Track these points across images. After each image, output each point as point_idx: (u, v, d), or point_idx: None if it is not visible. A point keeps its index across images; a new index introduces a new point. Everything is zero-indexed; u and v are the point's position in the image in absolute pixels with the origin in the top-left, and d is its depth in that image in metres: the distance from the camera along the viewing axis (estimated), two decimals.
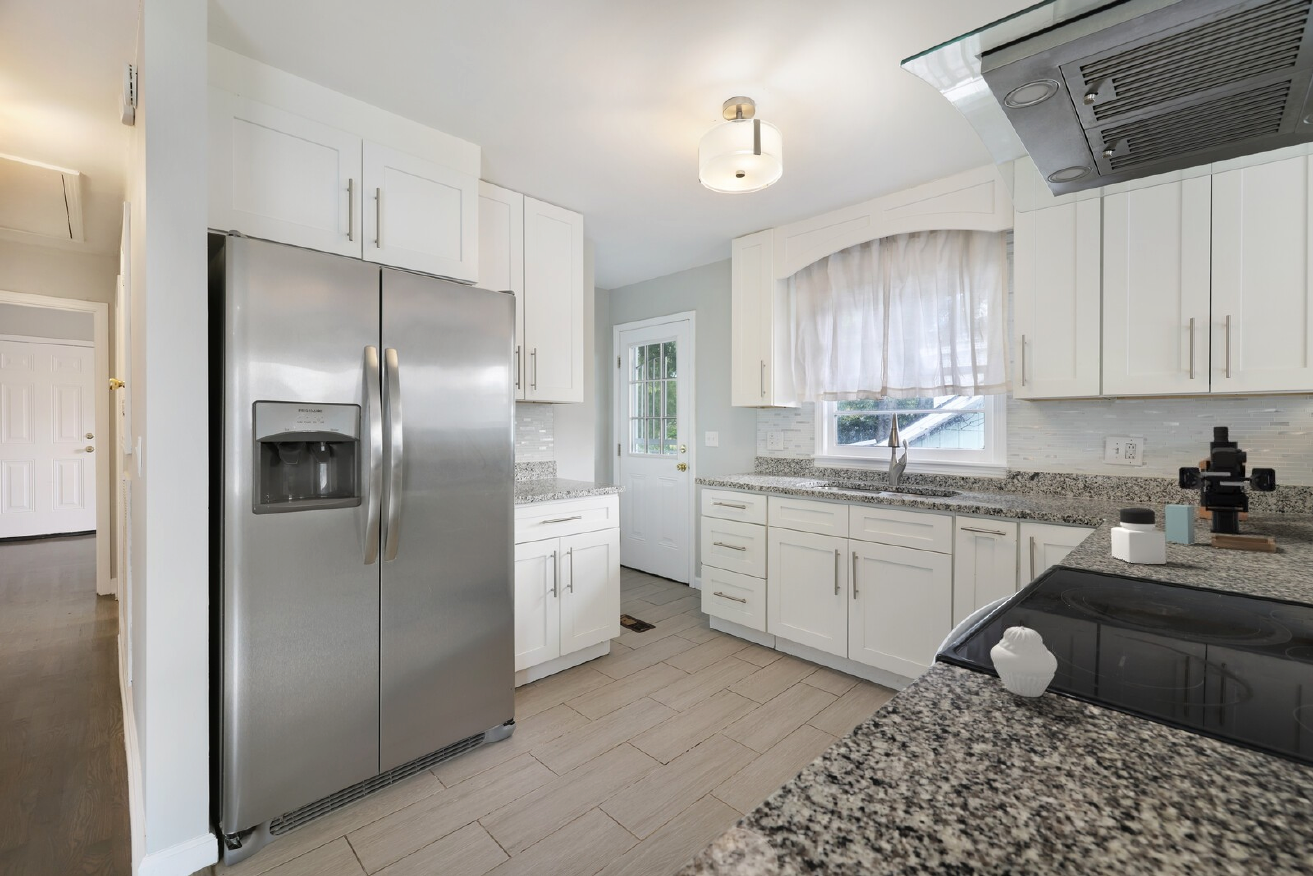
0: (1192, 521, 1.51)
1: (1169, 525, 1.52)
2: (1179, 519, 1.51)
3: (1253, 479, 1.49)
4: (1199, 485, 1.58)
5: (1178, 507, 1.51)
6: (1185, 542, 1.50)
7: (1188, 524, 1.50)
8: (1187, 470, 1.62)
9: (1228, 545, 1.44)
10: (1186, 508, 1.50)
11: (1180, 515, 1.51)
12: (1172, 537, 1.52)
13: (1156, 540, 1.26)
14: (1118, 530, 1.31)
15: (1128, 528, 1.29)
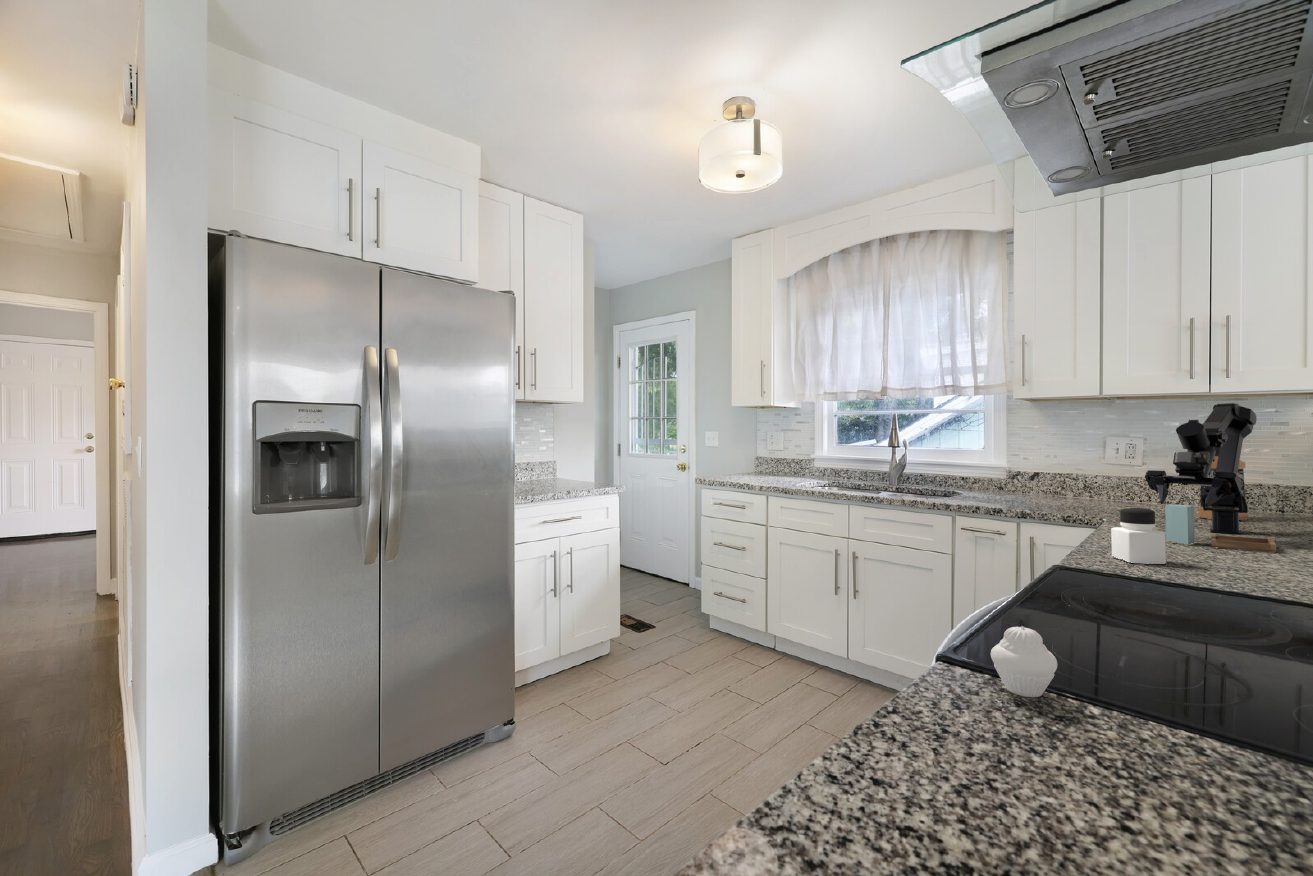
0: (1192, 521, 1.51)
1: (1169, 525, 1.52)
2: (1179, 519, 1.51)
3: (1209, 501, 1.50)
4: None
5: (1178, 507, 1.51)
6: (1185, 542, 1.50)
7: (1188, 524, 1.50)
8: (1151, 479, 1.62)
9: (1228, 545, 1.44)
10: (1186, 508, 1.50)
11: (1180, 515, 1.51)
12: (1172, 537, 1.52)
13: (1156, 541, 1.26)
14: (1118, 530, 1.31)
15: (1128, 528, 1.29)
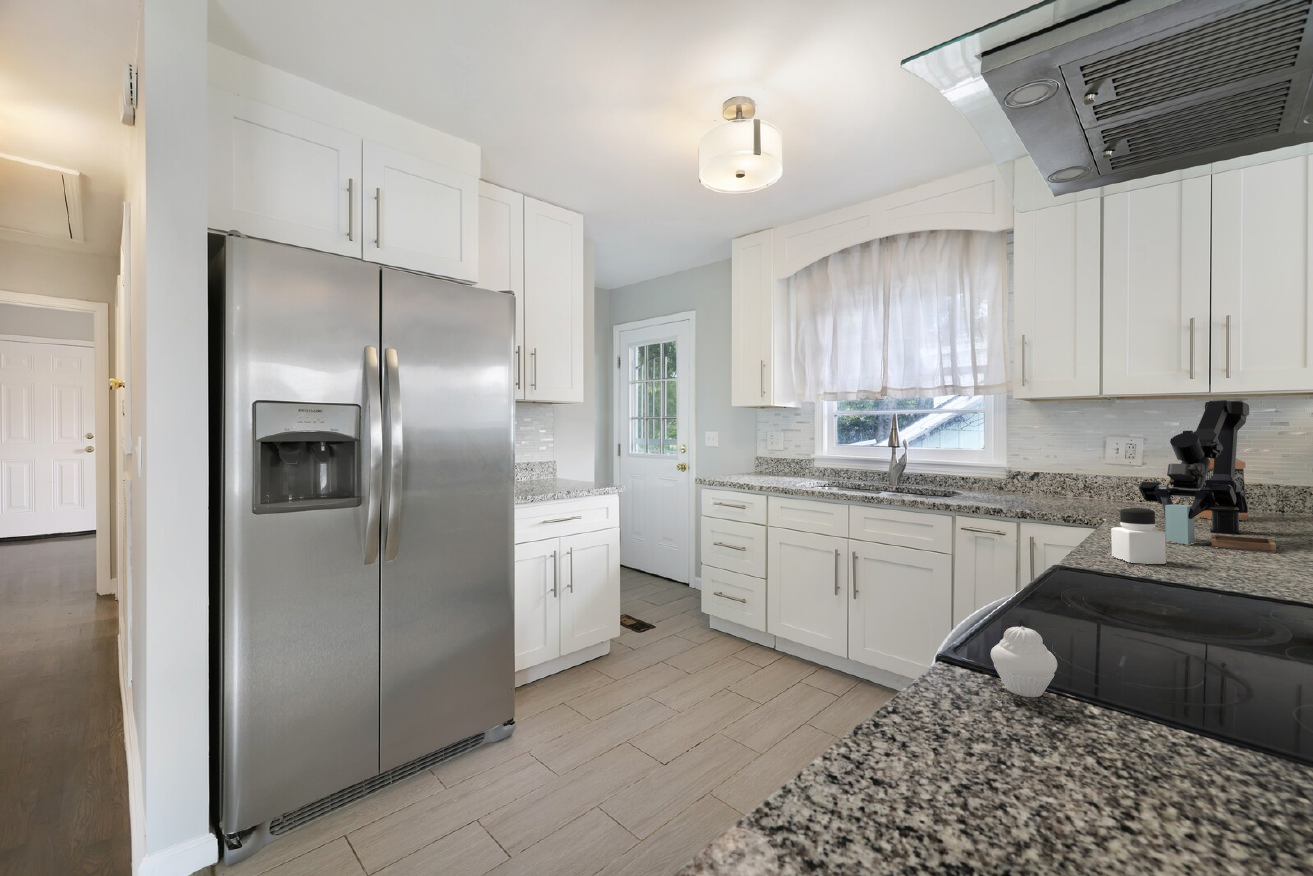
0: (1192, 521, 1.51)
1: (1169, 525, 1.52)
2: (1179, 519, 1.51)
3: (1192, 513, 1.49)
4: None
5: (1178, 507, 1.51)
6: (1185, 542, 1.50)
7: (1188, 524, 1.50)
8: (1155, 491, 1.58)
9: (1228, 545, 1.44)
10: (1186, 508, 1.50)
11: (1180, 515, 1.51)
12: (1172, 537, 1.52)
13: (1156, 541, 1.26)
14: (1118, 530, 1.31)
15: (1128, 528, 1.29)
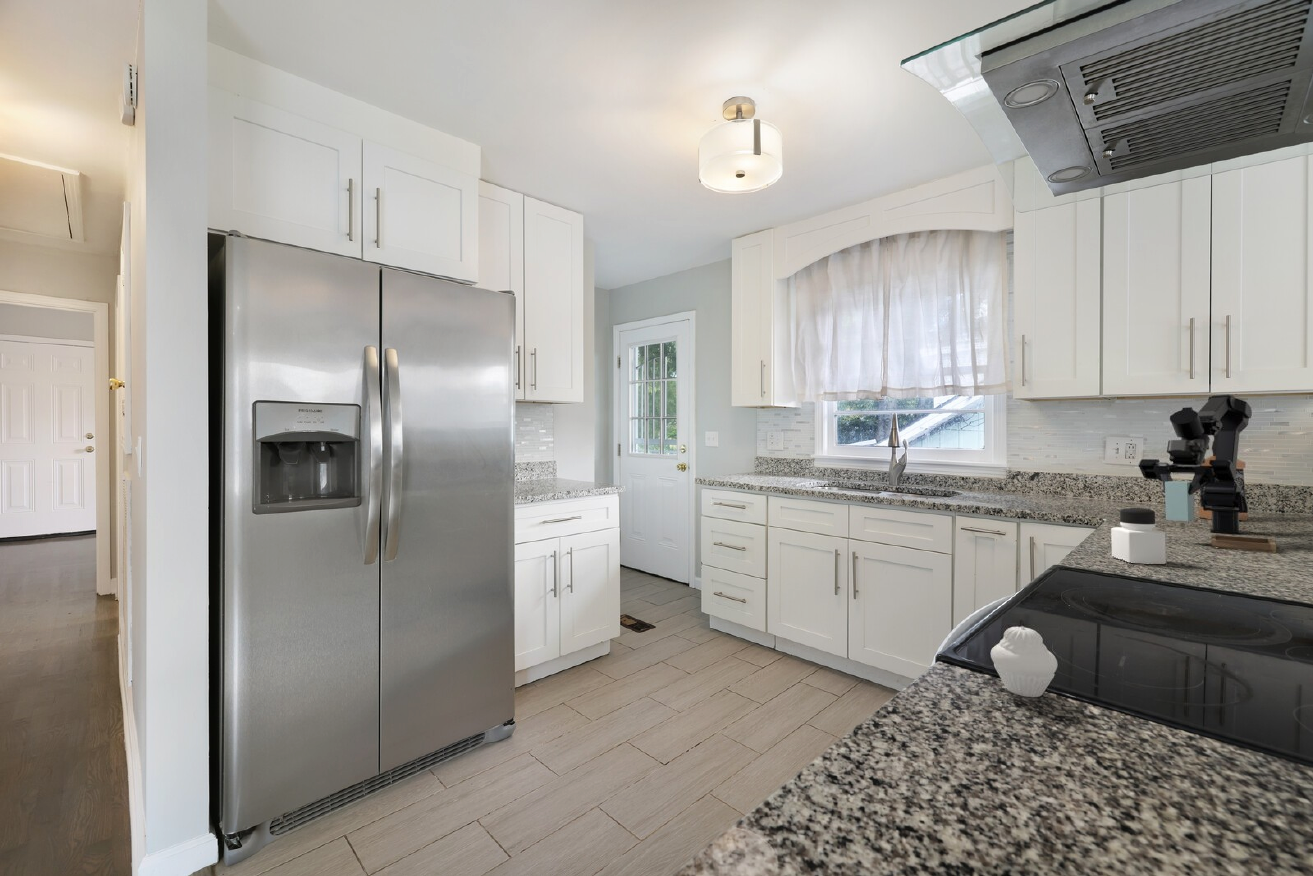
0: (1192, 497, 1.51)
1: (1169, 501, 1.53)
2: (1179, 495, 1.51)
3: (1192, 489, 1.50)
4: None
5: (1178, 483, 1.51)
6: (1185, 518, 1.50)
7: (1188, 500, 1.50)
8: (1155, 469, 1.58)
9: (1228, 545, 1.44)
10: (1186, 484, 1.50)
11: (1180, 491, 1.51)
12: (1172, 513, 1.52)
13: (1156, 541, 1.26)
14: (1118, 530, 1.31)
15: (1128, 528, 1.29)
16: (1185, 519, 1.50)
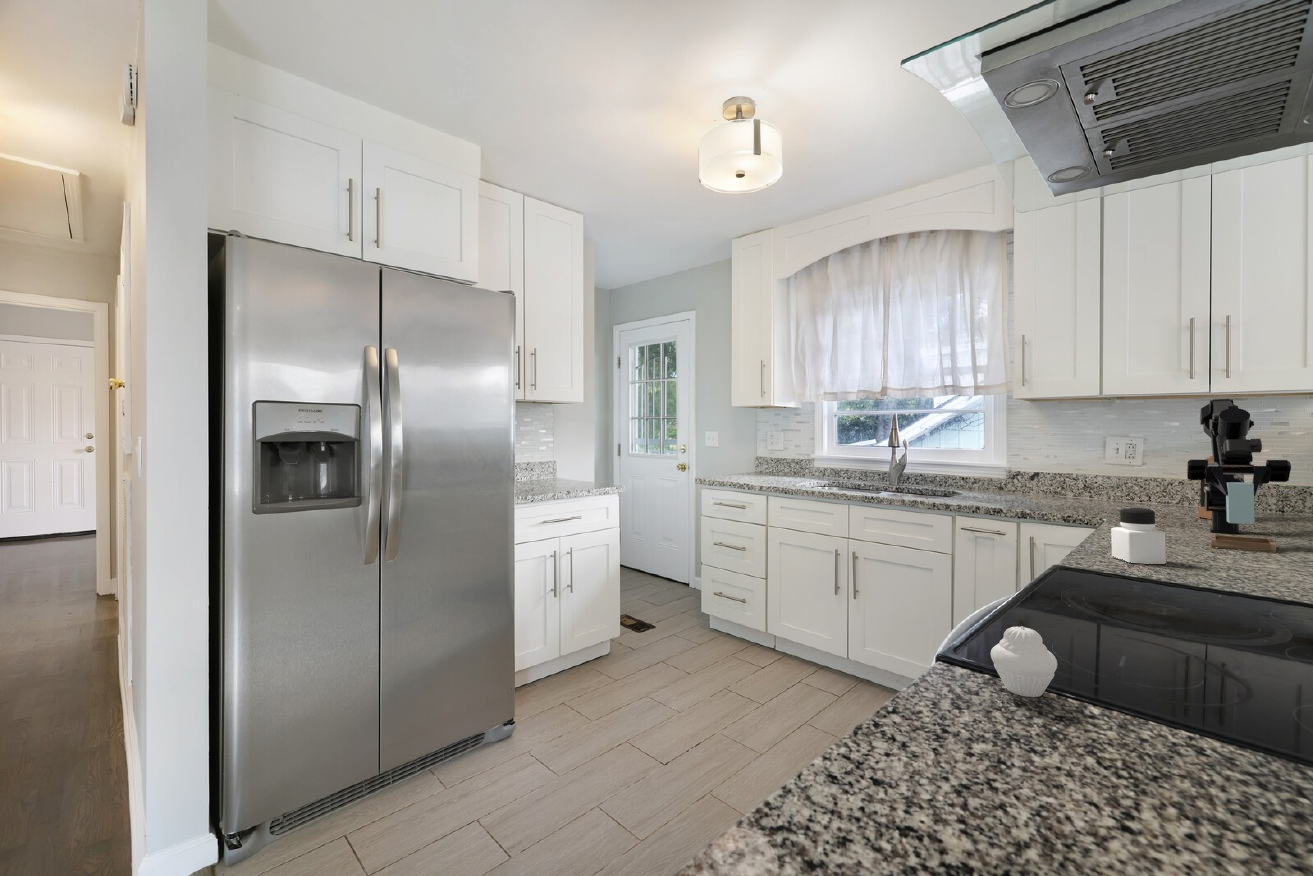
0: None
1: (1233, 504, 1.45)
2: (1244, 497, 1.44)
3: (1256, 491, 1.44)
4: None
5: (1243, 484, 1.44)
6: (1251, 521, 1.43)
7: (1253, 502, 1.43)
8: (1208, 469, 1.51)
9: (1228, 545, 1.44)
10: (1252, 485, 1.43)
11: (1245, 493, 1.44)
12: (1236, 516, 1.45)
13: (1156, 540, 1.26)
14: (1118, 530, 1.31)
15: (1128, 528, 1.29)
16: (1251, 522, 1.43)
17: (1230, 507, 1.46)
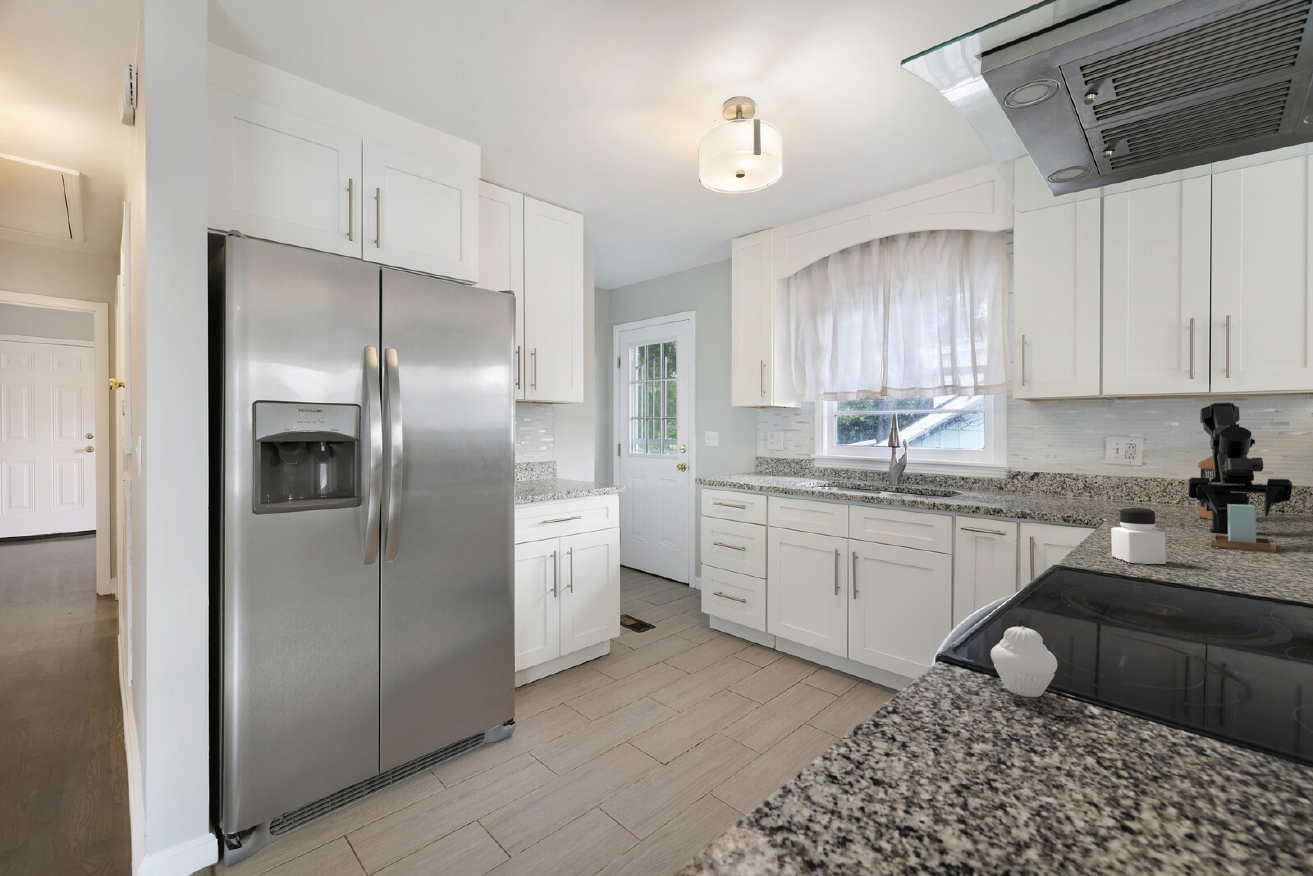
0: None
1: (1234, 526, 1.45)
2: (1246, 519, 1.44)
3: (1269, 510, 1.42)
4: None
5: (1245, 507, 1.44)
6: None
7: (1255, 524, 1.43)
8: (1199, 487, 1.52)
9: (1228, 545, 1.44)
10: (1254, 508, 1.43)
11: (1247, 515, 1.44)
12: (1238, 539, 1.45)
13: (1156, 541, 1.26)
14: (1118, 530, 1.31)
15: (1128, 528, 1.29)
16: None
17: (1232, 529, 1.45)
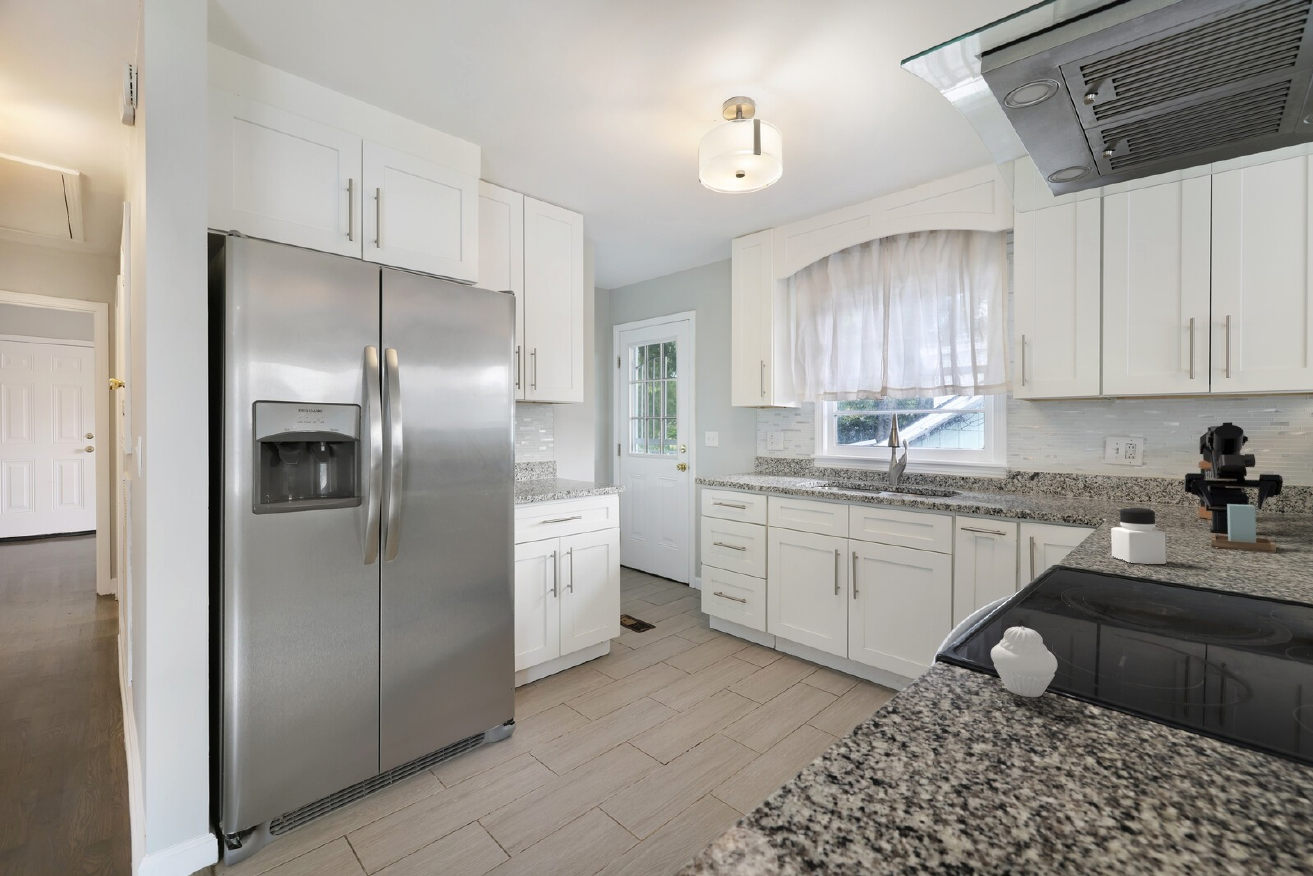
0: None
1: (1234, 526, 1.45)
2: (1246, 519, 1.44)
3: (1262, 504, 1.50)
4: None
5: (1245, 507, 1.44)
6: None
7: (1255, 524, 1.43)
8: (1194, 482, 1.60)
9: (1228, 545, 1.44)
10: (1254, 508, 1.43)
11: (1247, 515, 1.44)
12: (1238, 539, 1.45)
13: (1156, 540, 1.26)
14: (1118, 530, 1.31)
15: (1128, 528, 1.29)
16: None
17: (1232, 529, 1.45)
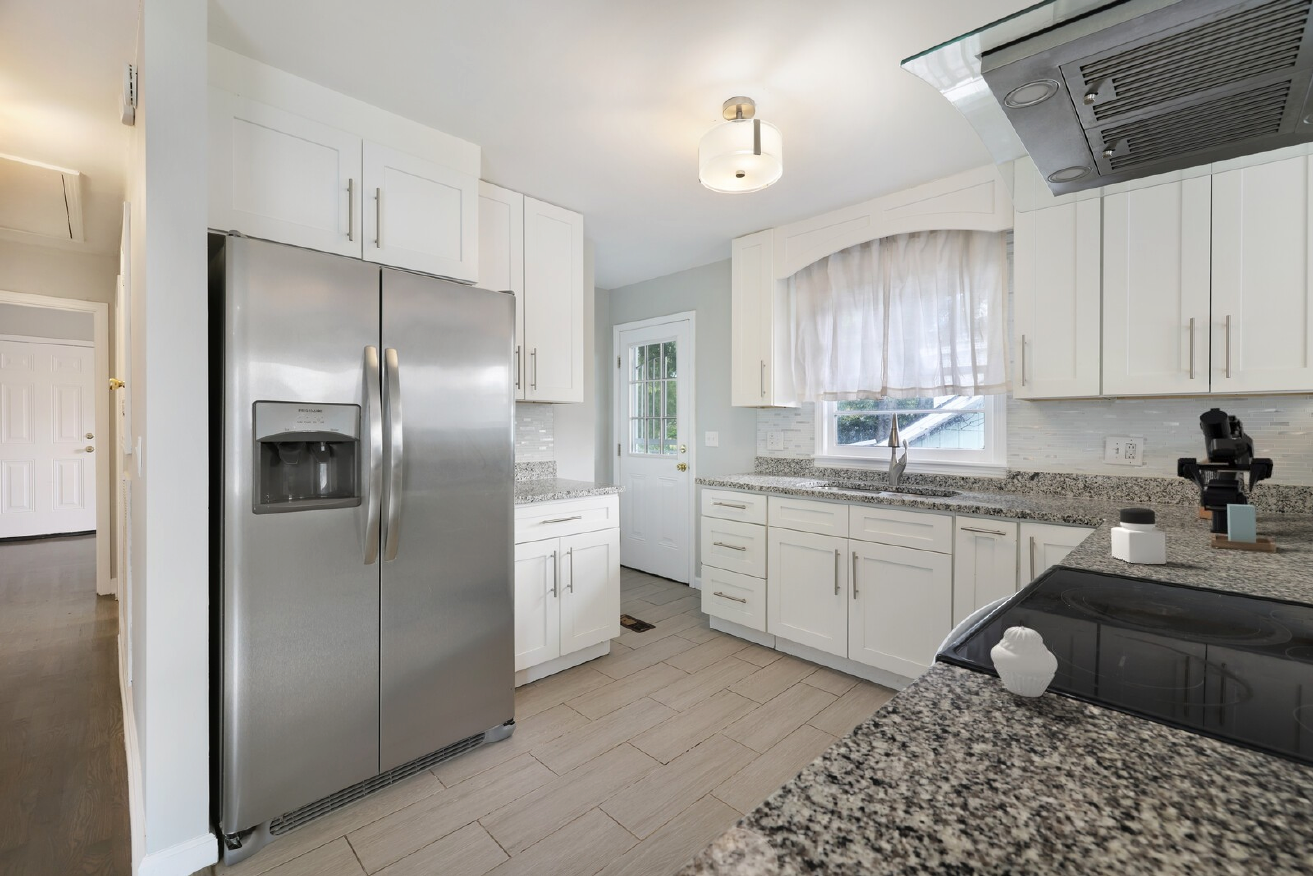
0: None
1: (1234, 526, 1.45)
2: (1246, 519, 1.44)
3: (1253, 487, 1.53)
4: None
5: (1245, 507, 1.44)
6: None
7: (1255, 524, 1.43)
8: (1186, 467, 1.63)
9: (1228, 545, 1.44)
10: (1254, 508, 1.43)
11: (1247, 515, 1.44)
12: (1238, 539, 1.45)
13: (1156, 541, 1.26)
14: (1118, 530, 1.31)
15: (1128, 528, 1.29)
16: None
17: (1232, 529, 1.45)
